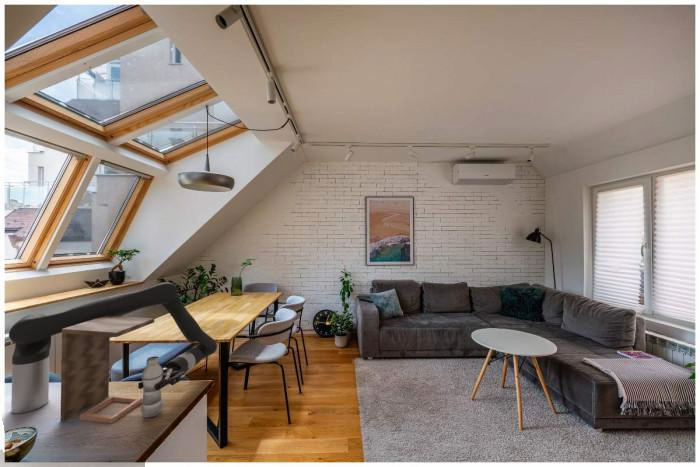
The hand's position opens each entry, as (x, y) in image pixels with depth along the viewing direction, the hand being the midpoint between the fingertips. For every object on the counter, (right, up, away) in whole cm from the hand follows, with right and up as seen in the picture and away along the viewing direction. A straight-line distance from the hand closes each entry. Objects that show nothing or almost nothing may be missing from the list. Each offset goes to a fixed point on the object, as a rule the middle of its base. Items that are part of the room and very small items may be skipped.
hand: (147, 387), depth 102 cm
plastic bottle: (0, -11, +2) cm, 11 cm away
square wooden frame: (-15, -10, +4) cm, 19 cm away
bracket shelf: (-17, -10, +4) cm, 20 cm away
